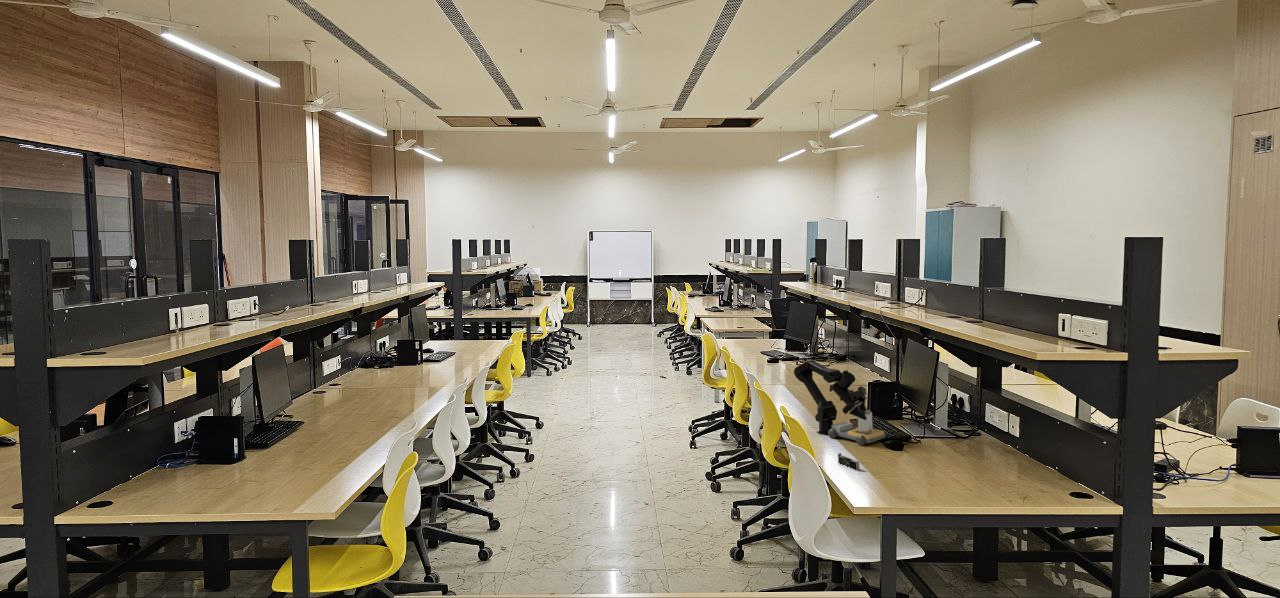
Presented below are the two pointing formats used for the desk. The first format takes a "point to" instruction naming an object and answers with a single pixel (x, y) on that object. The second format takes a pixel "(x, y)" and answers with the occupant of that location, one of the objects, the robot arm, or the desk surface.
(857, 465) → the graphics card
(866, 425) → the grey block
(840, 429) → the truck
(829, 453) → the desk surface
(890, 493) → the desk surface
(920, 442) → the desk surface
